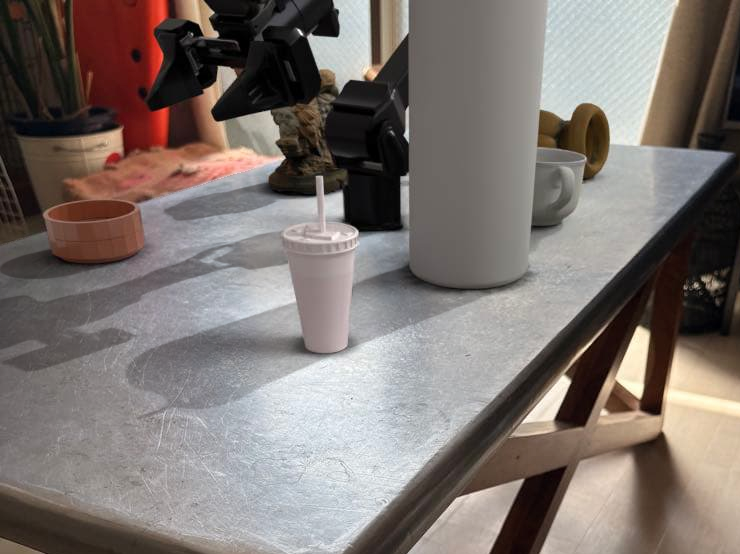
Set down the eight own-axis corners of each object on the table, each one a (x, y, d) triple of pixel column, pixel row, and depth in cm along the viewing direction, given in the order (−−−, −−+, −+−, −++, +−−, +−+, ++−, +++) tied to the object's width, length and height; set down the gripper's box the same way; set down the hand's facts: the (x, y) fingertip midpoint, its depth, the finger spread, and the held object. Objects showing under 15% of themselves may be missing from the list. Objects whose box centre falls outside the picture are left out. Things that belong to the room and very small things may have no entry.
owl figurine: (331, 200, 118) (324, 56, 108) (250, 195, 120) (236, 54, 111) (370, 171, 132) (367, 41, 122) (297, 167, 134) (288, 40, 125)
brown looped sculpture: (488, 101, 139) (618, 87, 127) (482, 188, 142) (608, 183, 130) (420, 73, 125) (559, 54, 112) (415, 171, 128) (550, 162, 115)
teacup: (485, 210, 113) (489, 143, 109) (568, 208, 114) (574, 141, 109) (505, 241, 102) (509, 168, 97) (597, 238, 103) (605, 166, 98)
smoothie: (306, 364, 73) (293, 188, 65) (278, 339, 78) (263, 171, 70) (375, 350, 75) (371, 178, 67) (344, 326, 80) (337, 163, 72)
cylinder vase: (510, 297, 86) (529, -1, 72) (392, 283, 90) (387, -3, 76) (539, 260, 96) (561, -9, 82) (431, 249, 99) (434, -11, 85)
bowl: (150, 237, 104) (144, 197, 101) (140, 263, 96) (133, 221, 93) (62, 240, 103) (53, 200, 100) (44, 267, 95) (33, 224, 92)
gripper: (180, -72, 85) (70, 18, 80) (323, -73, 75) (209, 29, 70) (229, 42, 94) (133, 131, 88) (362, 54, 84) (264, 154, 79)
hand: (180, 111), depth 81 cm, fingers open, 9 cm apart
